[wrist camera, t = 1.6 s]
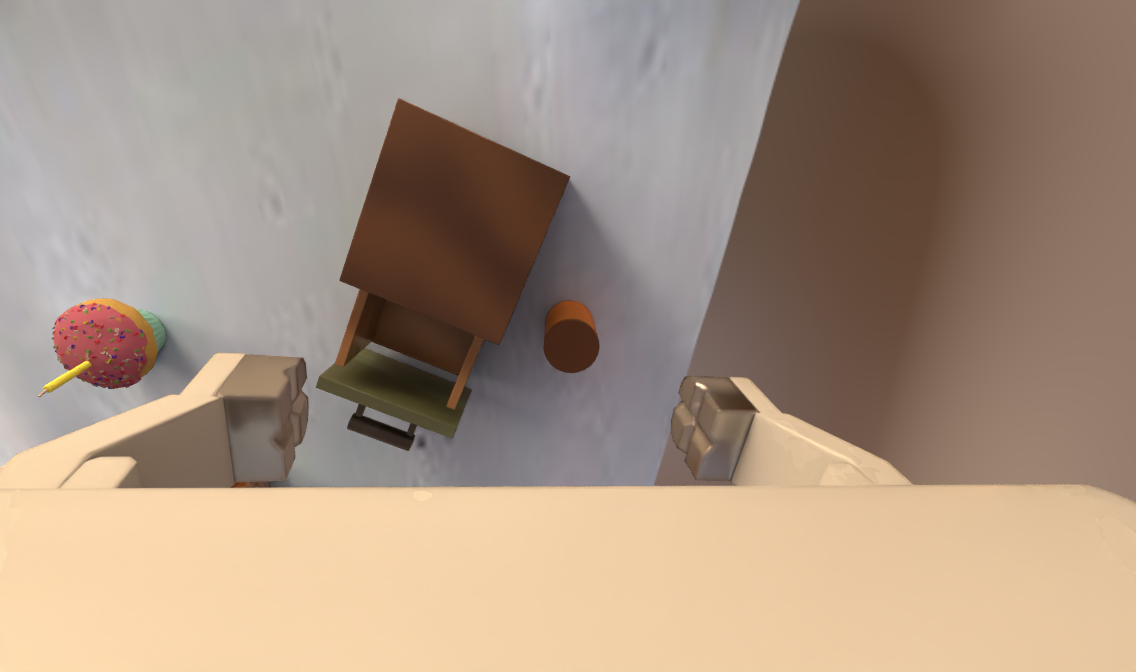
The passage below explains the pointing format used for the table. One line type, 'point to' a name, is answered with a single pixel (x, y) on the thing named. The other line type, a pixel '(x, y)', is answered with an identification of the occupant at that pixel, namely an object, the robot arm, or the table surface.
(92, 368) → the cupcake
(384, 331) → the drawer
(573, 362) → the cookie roll
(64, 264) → the table surface
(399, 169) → the cabinet
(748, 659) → the robot arm
